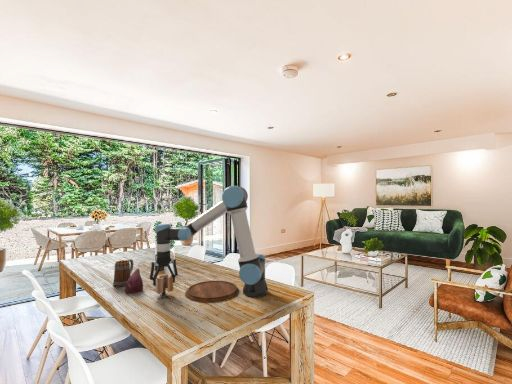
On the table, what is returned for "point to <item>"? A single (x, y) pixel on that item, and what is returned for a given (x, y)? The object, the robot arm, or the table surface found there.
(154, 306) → the table surface
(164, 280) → the stand
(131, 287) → the vegetable
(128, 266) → the mug
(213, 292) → the cutting board
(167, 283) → the c link
